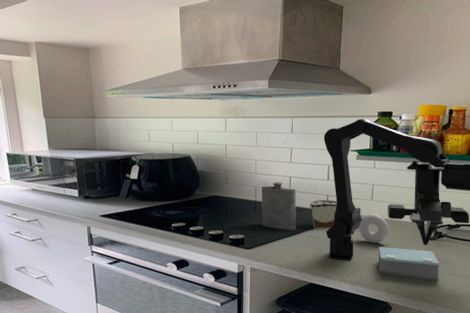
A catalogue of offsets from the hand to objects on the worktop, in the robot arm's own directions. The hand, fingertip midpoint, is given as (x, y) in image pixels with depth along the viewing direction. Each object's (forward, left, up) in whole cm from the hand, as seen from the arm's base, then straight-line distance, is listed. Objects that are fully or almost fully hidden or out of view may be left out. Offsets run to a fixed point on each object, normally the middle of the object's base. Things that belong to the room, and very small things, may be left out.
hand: (425, 244), depth 99 cm
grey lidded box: (-4, +2, -8) cm, 10 cm away
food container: (-30, +40, -9) cm, 51 cm away
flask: (-47, +33, -9) cm, 58 cm away
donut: (-12, +24, -9) cm, 29 cm away
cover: (-4, +1, -4) cm, 6 cm away
